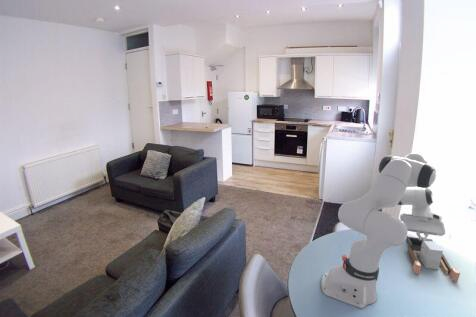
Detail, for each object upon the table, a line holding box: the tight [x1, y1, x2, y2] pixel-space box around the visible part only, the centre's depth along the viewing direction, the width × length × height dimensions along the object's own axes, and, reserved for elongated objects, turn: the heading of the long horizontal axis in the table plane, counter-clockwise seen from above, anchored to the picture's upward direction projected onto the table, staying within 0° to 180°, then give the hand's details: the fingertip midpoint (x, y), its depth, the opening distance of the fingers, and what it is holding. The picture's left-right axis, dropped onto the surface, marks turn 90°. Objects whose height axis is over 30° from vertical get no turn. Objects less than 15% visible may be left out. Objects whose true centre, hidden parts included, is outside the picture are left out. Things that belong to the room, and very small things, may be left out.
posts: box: [412, 261, 461, 283], centre depth 127 cm, size 17×3×5 cm, turn 71°
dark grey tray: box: [405, 235, 422, 252], centre depth 148 cm, size 12×9×3 cm
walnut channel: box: [407, 245, 453, 276], centre depth 137 cm, size 15×14×3 cm
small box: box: [418, 241, 444, 270], centre depth 135 cm, size 8×6×10 cm
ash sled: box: [412, 238, 448, 275], centre depth 136 cm, size 12×14×9 cm
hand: (422, 241), depth 146 cm, fingers closed
